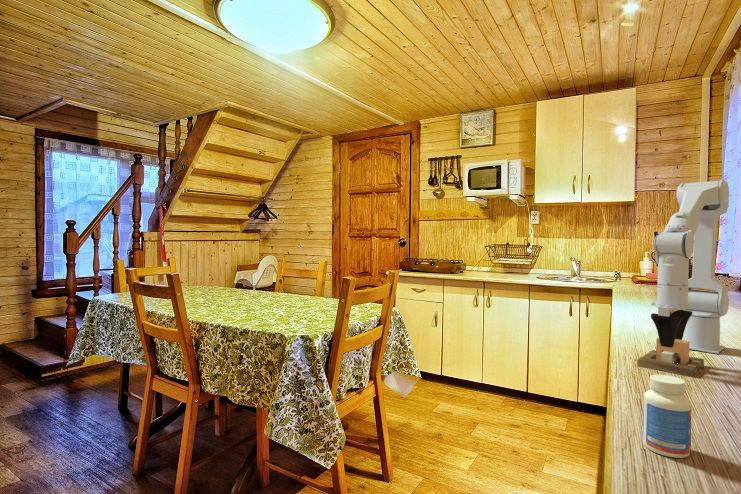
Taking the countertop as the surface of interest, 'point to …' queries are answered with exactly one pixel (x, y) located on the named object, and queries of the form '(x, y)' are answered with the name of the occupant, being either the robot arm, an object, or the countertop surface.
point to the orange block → (675, 350)
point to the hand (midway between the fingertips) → (671, 343)
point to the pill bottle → (667, 417)
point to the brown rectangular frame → (671, 363)
